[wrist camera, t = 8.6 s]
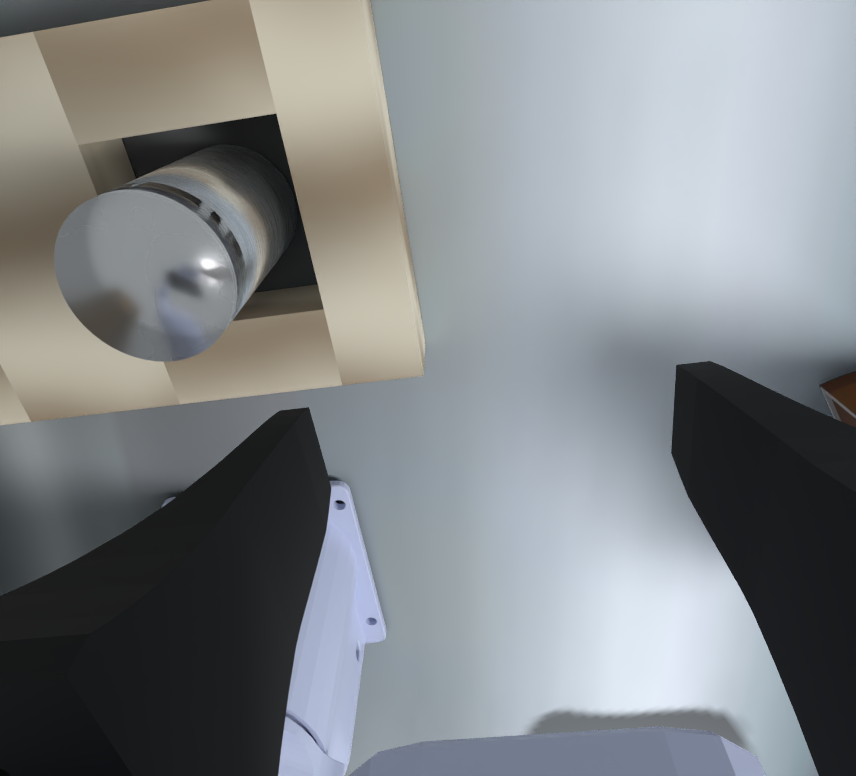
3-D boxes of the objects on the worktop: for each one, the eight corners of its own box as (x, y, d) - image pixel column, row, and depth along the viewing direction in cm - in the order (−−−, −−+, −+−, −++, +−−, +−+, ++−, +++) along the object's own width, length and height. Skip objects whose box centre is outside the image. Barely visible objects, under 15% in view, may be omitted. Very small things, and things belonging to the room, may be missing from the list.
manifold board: (425, 343, 22) (423, 375, 20) (-83, 404, 24) (-135, 441, 22) (367, -17, 17) (355, -26, 15) (-279, 96, 19) (-374, 103, 17)
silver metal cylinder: (310, 259, 21) (256, 348, 15) (198, 277, 21) (100, 372, 15) (276, 133, 19) (197, 177, 13) (154, 156, 19) (21, 209, 13)
